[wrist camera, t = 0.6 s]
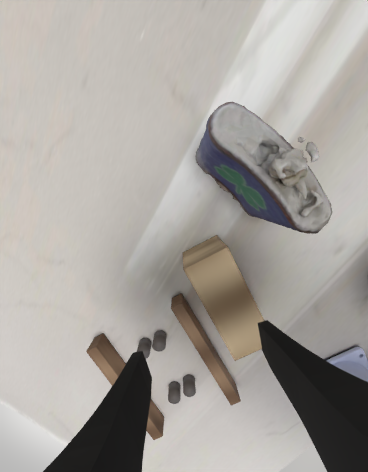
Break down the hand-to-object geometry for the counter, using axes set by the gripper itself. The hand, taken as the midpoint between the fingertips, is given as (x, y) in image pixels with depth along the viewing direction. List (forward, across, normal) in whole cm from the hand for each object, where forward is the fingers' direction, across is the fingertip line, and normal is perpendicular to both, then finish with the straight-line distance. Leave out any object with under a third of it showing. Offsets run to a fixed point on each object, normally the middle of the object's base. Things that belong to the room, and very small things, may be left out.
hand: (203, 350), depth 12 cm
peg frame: (+10, +5, +10) cm, 14 cm away
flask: (+10, -7, -9) cm, 15 cm away
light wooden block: (+10, -3, +1) cm, 10 cm away
